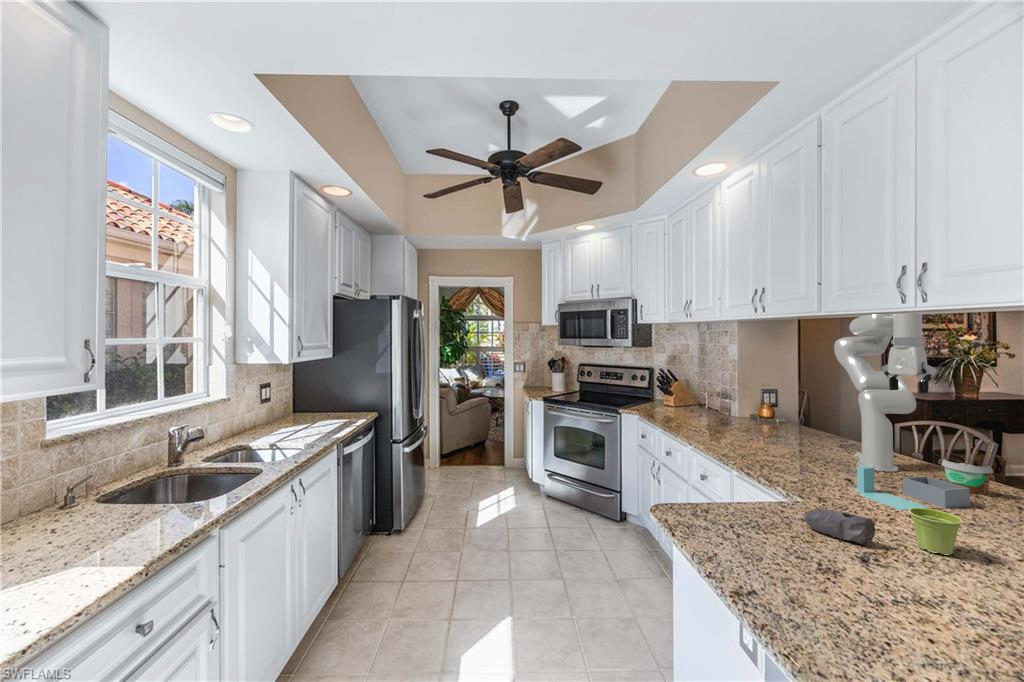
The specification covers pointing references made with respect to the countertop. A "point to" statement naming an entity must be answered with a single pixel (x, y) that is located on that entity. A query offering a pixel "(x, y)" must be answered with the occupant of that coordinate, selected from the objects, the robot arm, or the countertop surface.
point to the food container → (968, 476)
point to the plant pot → (935, 529)
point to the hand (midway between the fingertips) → (908, 391)
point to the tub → (936, 492)
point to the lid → (867, 488)
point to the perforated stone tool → (841, 525)
